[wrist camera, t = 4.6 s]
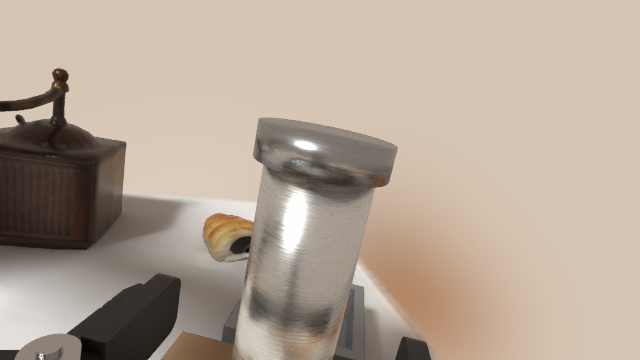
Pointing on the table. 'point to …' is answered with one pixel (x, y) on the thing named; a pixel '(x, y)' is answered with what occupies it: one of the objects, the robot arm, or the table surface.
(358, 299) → the tray
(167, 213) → the table surface
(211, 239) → the pastry
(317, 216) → the pin
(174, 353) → the trolley
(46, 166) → the manual coffee grinder
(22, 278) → the table surface
